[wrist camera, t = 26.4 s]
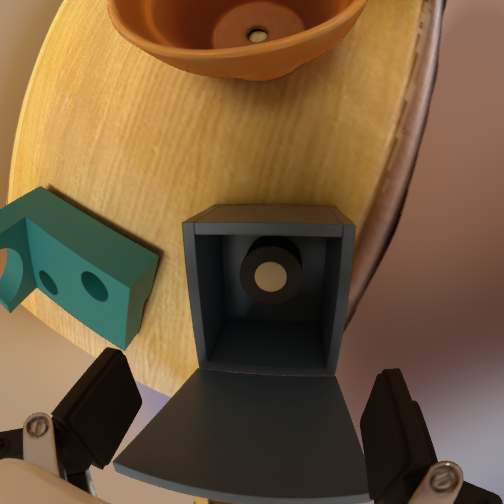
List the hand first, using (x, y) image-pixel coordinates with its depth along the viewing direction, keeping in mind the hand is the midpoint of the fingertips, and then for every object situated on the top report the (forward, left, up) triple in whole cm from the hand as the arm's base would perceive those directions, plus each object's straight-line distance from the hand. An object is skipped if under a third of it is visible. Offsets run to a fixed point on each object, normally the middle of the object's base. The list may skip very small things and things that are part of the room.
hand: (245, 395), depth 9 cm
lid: (+5, 0, -3) cm, 6 cm away
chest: (+2, 0, -17) cm, 17 cm away
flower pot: (-19, -1, -17) cm, 26 cm away
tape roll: (+1, 0, -16) cm, 16 cm away
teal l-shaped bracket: (+2, -22, -17) cm, 28 cm away
